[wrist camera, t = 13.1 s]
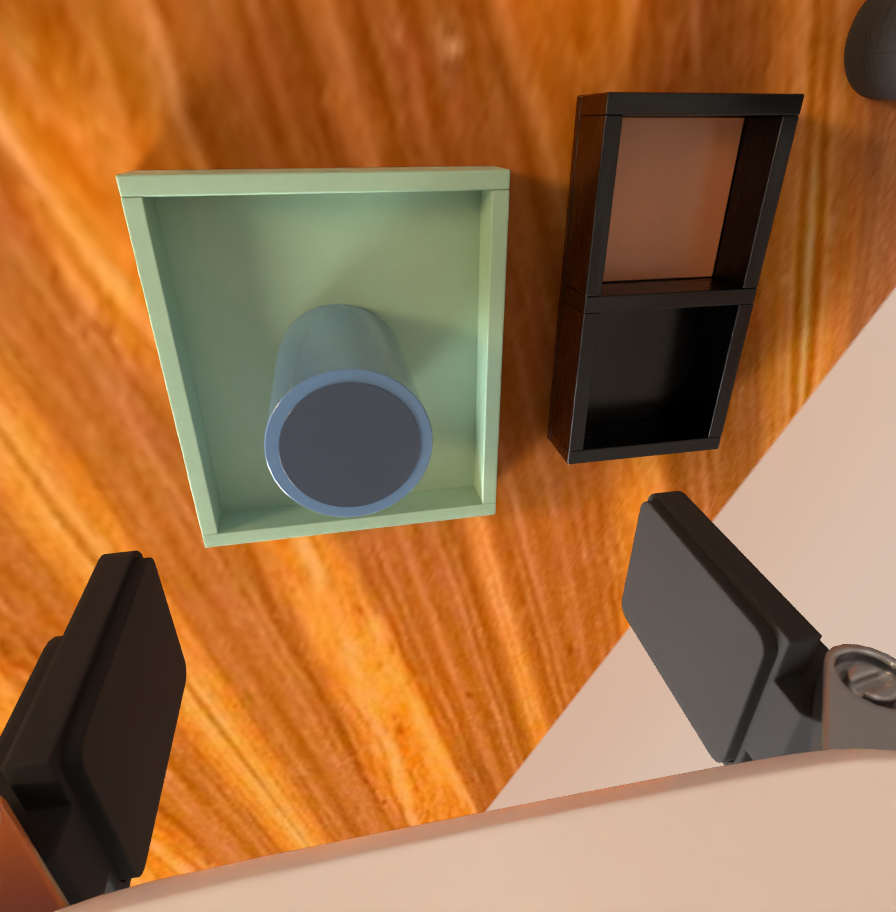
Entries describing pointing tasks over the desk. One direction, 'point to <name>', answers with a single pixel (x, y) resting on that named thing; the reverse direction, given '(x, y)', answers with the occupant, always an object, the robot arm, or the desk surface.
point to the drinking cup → (873, 50)
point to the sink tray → (312, 285)
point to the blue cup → (345, 414)
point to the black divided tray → (662, 265)
